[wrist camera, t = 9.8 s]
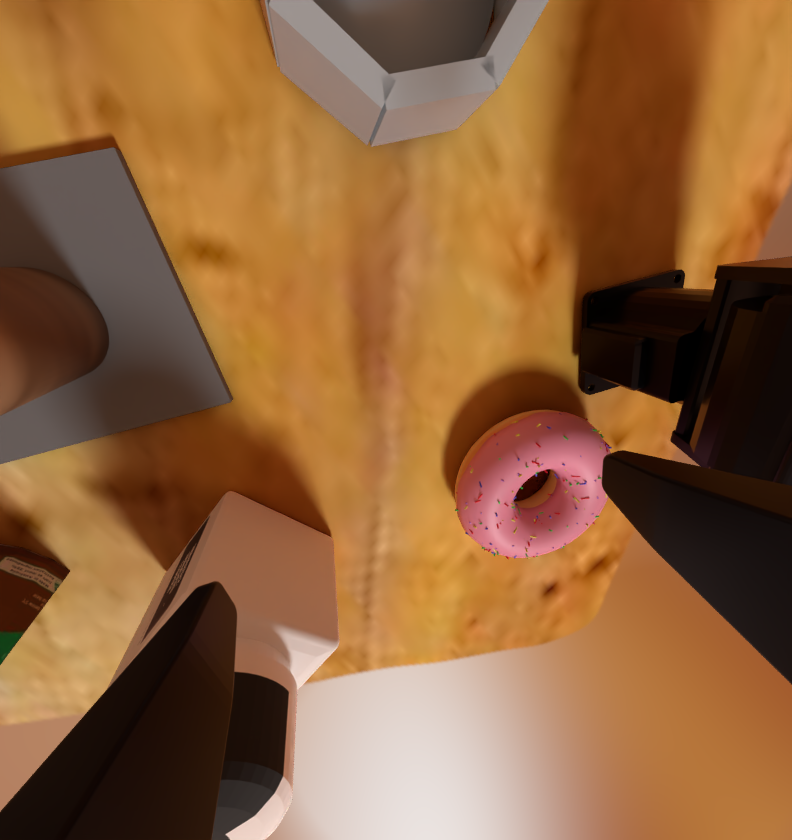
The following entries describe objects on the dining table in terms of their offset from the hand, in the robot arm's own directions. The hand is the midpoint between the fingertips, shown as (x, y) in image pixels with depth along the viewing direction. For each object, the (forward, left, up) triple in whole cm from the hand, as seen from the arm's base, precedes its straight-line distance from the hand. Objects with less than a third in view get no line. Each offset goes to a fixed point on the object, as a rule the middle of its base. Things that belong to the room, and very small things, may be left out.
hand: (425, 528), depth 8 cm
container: (+10, +10, -13) cm, 19 cm away
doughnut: (-9, +10, -14) cm, 19 cm away
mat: (+13, -6, -13) cm, 19 cm away
